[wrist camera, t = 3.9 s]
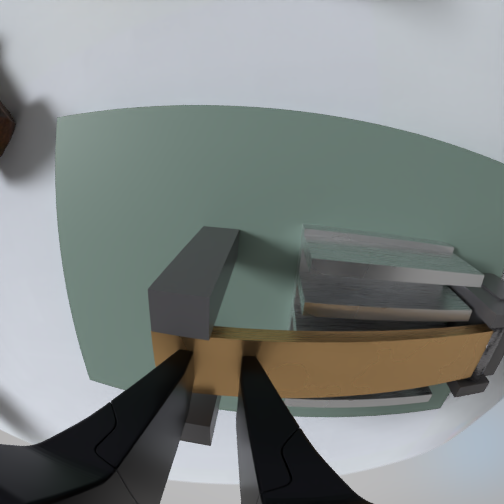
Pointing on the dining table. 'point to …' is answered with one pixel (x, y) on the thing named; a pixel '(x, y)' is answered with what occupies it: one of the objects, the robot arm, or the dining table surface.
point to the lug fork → (195, 308)
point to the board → (246, 213)
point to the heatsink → (375, 293)
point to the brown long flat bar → (335, 358)
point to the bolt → (5, 127)
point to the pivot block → (483, 312)
